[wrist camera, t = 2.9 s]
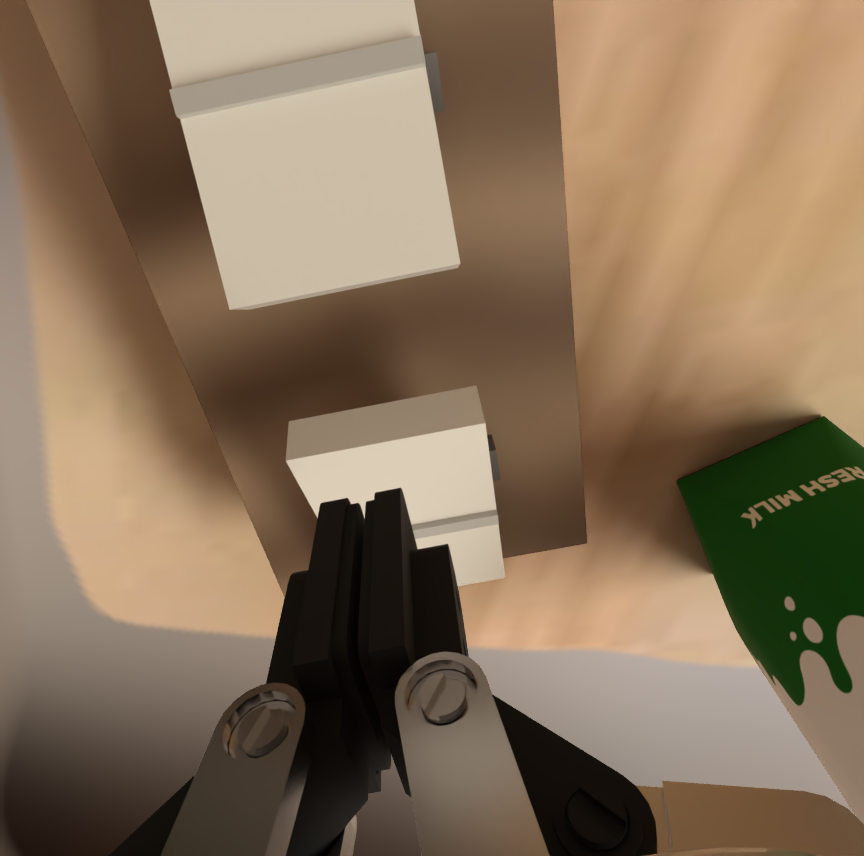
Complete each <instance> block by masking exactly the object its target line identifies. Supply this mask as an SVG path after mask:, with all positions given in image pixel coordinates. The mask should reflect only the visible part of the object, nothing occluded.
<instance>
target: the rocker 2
mask: <svg viewBox="0 0 864 856" xmlns="http://www.w3.org/2000/svg"><path fill="white" fill-rule="evenodd" d="M286 462H287V464H288V466H289V468H290V470H291V471H292V473H293V475H294V477H295V479H296V480H297V482H298V484H299V486H300V488H301V489H302V491H303V493H304V495H305V497H306V498H307V500H308V502H309V504H310V506H311V507H312V509H313V511H314V513H315V515H316V516H317V518H318V513H319V507H320V504H321V503H323V502H328V501H334V500H339V499H344V498H348V499H349V501H350V503H351V504H355V503H359V504H360V506H361V509H362V512H363V515H364V518H365V506H366V501H371V500H374V495H375V493H376V492H381V491H386V490H391V489H396V488H402V491H403V494H404V498H405V502H406V505H407V509H408V513H409V517H410V521H411V525H412V529H413V533H414V537H415V541H416V545H417V548H418V549H423V548H428V547H433V546H439V545H444V544H448V545H449V549H450V553H451V557H452V562H453V566H454V571H455V576H456V581H457V586H462V585H468V584H474V583H479V582H485V581H491V580H496V579H502V578H505V572H504V564H503V556H502V548H501V540H500V533H499V525H498V524H499V521H498V514H497V509H496V501H495V494H494V486H493V478H492V470H491V462H490V454H489V447H488V439H487V431H486V423H485V419H484V415H483V411H482V406H481V402H480V398H479V394H478V390H477V386H471V387H466V388H460V389H455V390H450V391H445V392H440V393H434V394H429V395H424V396H419V397H413V398H408V399H403V400H398V401H392V402H387V403H382V404H377V405H372V406H366V407H361V408H356V409H351V410H345V411H340V412H335V413H330V414H324V415H319V416H314V417H309V418H304V419H298V420H293V421H289V425H288V437H287V450H286Z"/></svg>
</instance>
